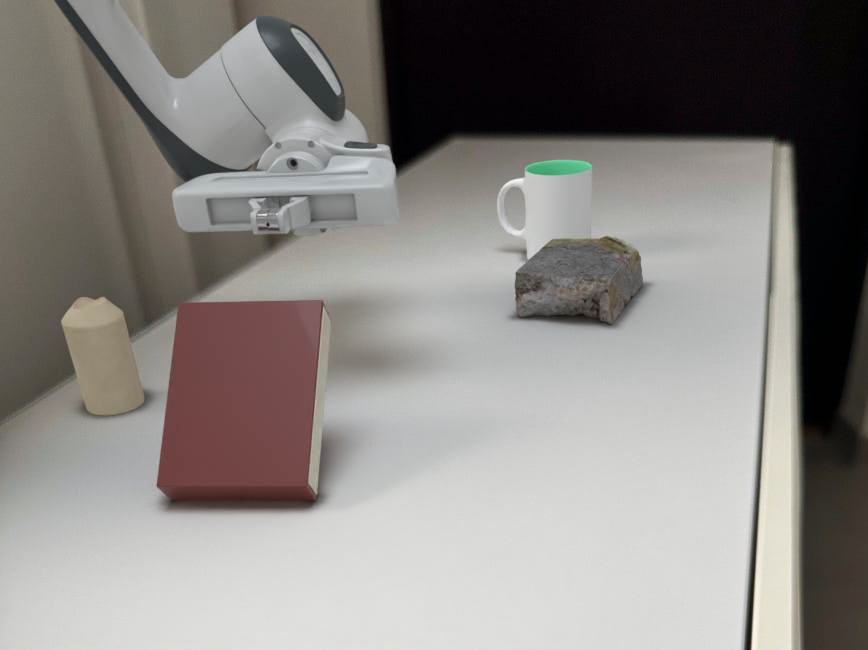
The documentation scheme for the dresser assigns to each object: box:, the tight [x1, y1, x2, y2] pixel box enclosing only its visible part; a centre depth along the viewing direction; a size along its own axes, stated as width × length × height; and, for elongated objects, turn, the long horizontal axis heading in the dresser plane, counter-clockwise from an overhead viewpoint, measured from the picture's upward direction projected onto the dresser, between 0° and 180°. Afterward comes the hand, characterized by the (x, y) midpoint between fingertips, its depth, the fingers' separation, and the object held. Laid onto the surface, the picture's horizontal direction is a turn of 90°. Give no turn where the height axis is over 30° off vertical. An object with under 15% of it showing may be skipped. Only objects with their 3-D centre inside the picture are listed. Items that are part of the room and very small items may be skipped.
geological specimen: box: [514, 235, 644, 325], centre depth 116 cm, size 11×6×15 cm
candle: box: [60, 296, 145, 416], centre depth 98 cm, size 6×6×10 cm
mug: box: [496, 159, 593, 261], centre depth 130 cm, size 12×8×10 cm, turn 71°
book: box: [156, 299, 332, 502], centre depth 84 cm, size 12×3×16 cm
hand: (267, 224), depth 89 cm, fingers closed
